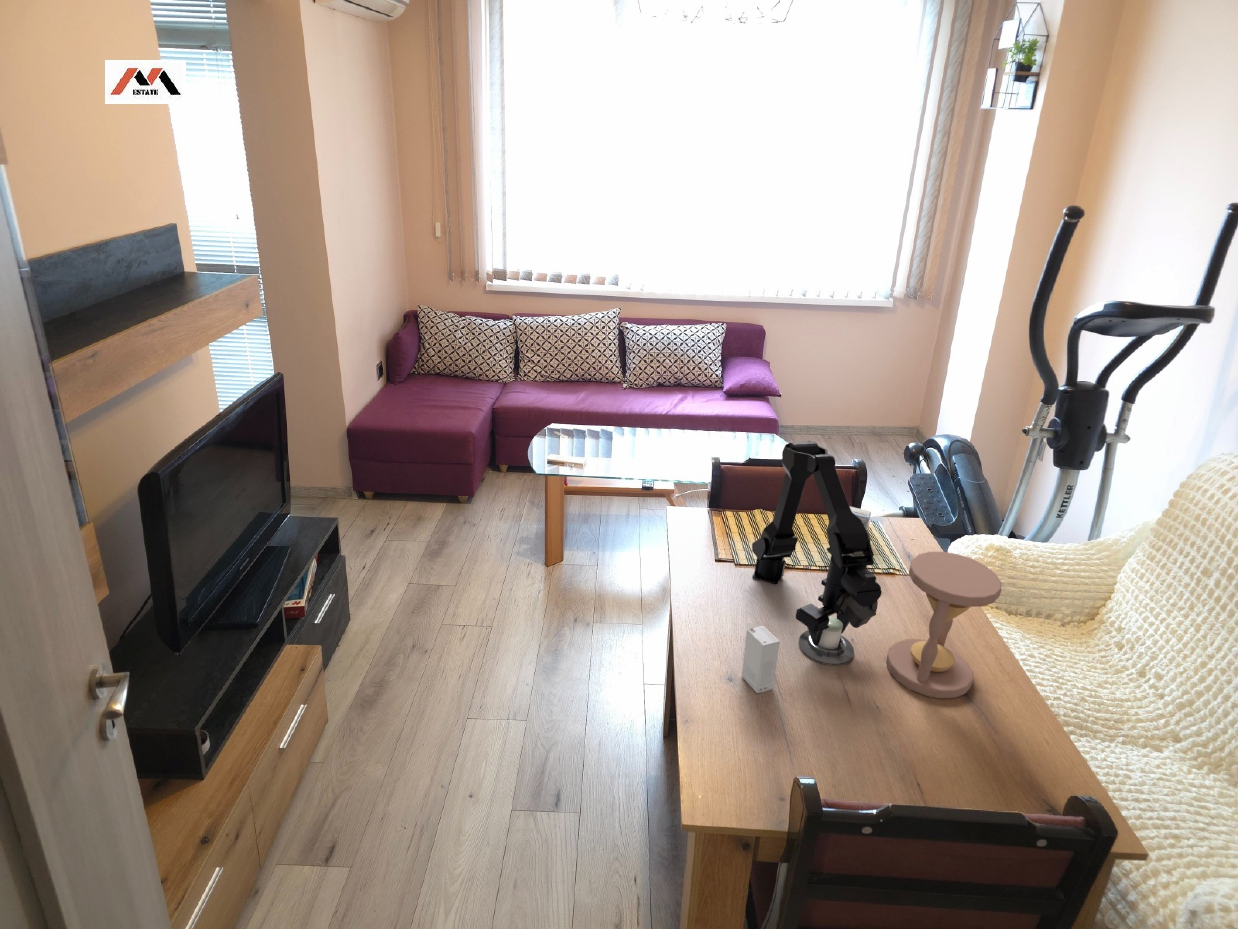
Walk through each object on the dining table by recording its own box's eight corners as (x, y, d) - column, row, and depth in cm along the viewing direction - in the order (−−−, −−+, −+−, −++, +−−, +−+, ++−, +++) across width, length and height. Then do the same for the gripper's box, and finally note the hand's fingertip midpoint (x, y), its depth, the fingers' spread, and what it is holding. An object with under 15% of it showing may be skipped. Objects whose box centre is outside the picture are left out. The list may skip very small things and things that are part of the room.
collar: (793, 654, 176) (794, 648, 175) (804, 625, 186) (805, 619, 185) (848, 671, 172) (850, 665, 171) (857, 641, 182) (858, 634, 181)
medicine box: (865, 538, 226) (871, 511, 222) (862, 545, 222) (869, 517, 218) (837, 531, 229) (843, 504, 225) (834, 537, 225) (839, 510, 221)
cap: (827, 655, 175) (832, 633, 173) (809, 642, 179) (814, 620, 176) (842, 648, 178) (847, 626, 175) (825, 636, 182) (830, 614, 179)
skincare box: (773, 689, 165) (782, 641, 160) (755, 695, 163) (764, 646, 158) (756, 671, 170) (764, 624, 165) (738, 676, 168) (746, 628, 163)
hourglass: (909, 636, 185) (934, 542, 174) (984, 674, 174) (1016, 576, 163) (870, 668, 173) (895, 569, 163) (948, 711, 162) (979, 608, 152)
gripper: (841, 611, 160) (827, 674, 167) (899, 585, 171) (884, 644, 177) (799, 584, 168) (788, 645, 175) (857, 561, 179) (844, 618, 185)
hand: (827, 639), depth 178 cm, fingers open, 8 cm apart
